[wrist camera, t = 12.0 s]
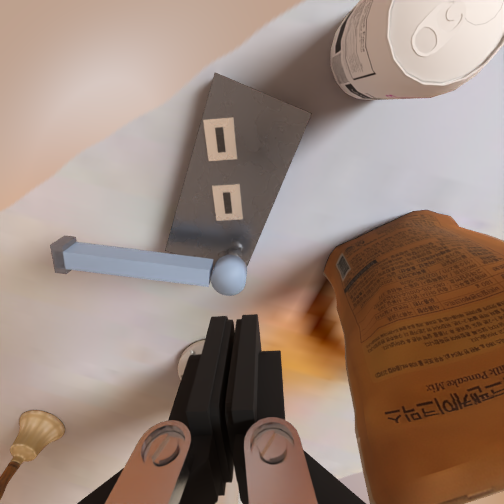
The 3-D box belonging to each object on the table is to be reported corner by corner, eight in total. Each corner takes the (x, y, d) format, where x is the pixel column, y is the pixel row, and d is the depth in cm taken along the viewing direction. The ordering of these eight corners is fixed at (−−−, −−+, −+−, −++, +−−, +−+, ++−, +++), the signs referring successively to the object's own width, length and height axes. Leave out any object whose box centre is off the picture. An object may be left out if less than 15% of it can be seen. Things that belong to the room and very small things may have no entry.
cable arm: (248, 256, 34) (247, 267, 31) (245, 285, 35) (243, 297, 33) (64, 233, 33) (49, 243, 31) (69, 263, 35) (55, 274, 33)
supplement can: (379, -22, 28) (482, -139, 15) (431, 51, 30) (564, 9, 17) (311, 55, 31) (345, 18, 17) (364, 117, 33) (431, 127, 19)
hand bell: (14, 408, 56) (-73, 513, 42) (58, 410, 56) (-14, 516, 42) (28, 438, 60) (-47, 543, 46) (70, 439, 60) (7, 546, 45)
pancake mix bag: (299, 250, 40) (351, 500, 15) (450, 178, 35) (907, 365, 10) (320, 289, 42) (398, 561, 17) (465, 226, 38) (865, 475, 12)
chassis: (244, 266, 41) (240, 291, 36) (172, 240, 40) (156, 262, 35) (308, 112, 33) (316, 114, 27) (219, 75, 32) (209, 68, 26)
